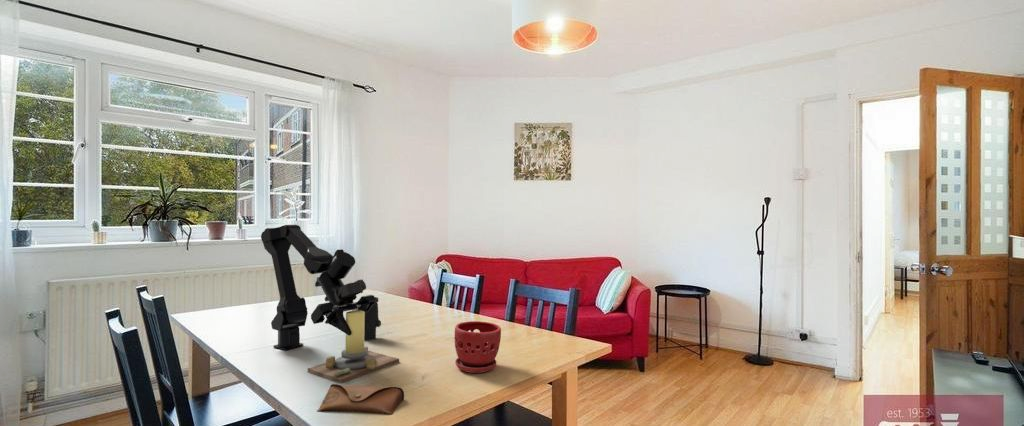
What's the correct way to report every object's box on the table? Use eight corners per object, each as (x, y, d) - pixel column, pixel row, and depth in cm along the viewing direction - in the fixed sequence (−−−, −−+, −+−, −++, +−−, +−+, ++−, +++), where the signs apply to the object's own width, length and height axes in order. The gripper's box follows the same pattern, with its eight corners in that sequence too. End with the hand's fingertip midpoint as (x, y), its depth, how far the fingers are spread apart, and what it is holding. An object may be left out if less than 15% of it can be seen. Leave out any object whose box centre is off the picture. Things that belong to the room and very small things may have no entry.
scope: (359, 295, 164) (386, 296, 163) (359, 334, 164) (385, 335, 163) (347, 299, 156) (375, 300, 155) (347, 340, 156) (375, 342, 155)
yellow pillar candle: (336, 355, 130) (336, 313, 129) (356, 349, 135) (357, 308, 135) (352, 360, 126) (353, 316, 126) (372, 354, 132) (373, 312, 131)
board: (307, 372, 126) (307, 359, 126) (367, 353, 143) (367, 342, 143) (341, 383, 118) (342, 370, 118) (400, 362, 135) (400, 350, 135)
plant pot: (464, 379, 122) (464, 334, 122) (447, 364, 134) (448, 322, 134) (508, 371, 128) (508, 328, 128) (488, 358, 140) (489, 318, 140)
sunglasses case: (312, 411, 101) (320, 380, 105) (324, 416, 107) (331, 386, 111) (394, 414, 100) (399, 382, 104) (401, 418, 106) (406, 388, 110)
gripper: (317, 274, 125) (343, 321, 119) (373, 268, 140) (397, 309, 134) (300, 300, 129) (323, 346, 123) (355, 291, 145) (379, 331, 139)
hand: (358, 332), depth 130 cm, fingers closed on yellow pillar candle, 5 cm apart
